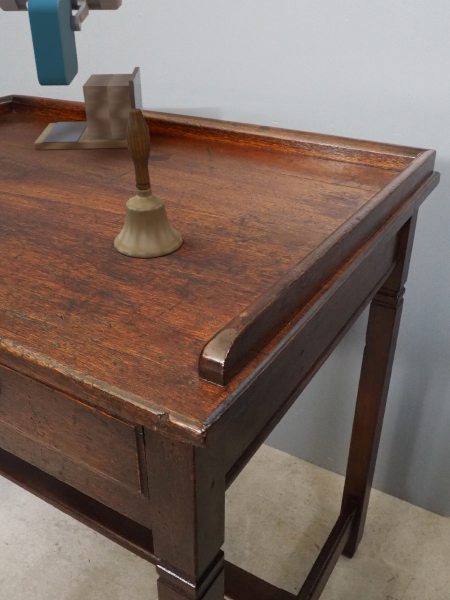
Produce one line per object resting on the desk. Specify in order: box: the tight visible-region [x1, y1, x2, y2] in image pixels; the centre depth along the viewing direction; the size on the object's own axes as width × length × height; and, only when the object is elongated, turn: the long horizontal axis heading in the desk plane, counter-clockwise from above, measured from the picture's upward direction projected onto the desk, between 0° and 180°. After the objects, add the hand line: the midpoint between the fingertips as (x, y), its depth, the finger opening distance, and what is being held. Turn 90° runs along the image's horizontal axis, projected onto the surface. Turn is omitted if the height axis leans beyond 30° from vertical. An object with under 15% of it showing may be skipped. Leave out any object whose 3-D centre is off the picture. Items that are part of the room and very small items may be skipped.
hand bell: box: [113, 108, 184, 259], centre depth 71 cm, size 8×8×16 cm
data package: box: [27, 0, 79, 87], centre depth 96 cm, size 12×4×12 cm, turn 4°
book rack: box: [33, 66, 144, 151], centre depth 110 cm, size 18×13×11 cm
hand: (57, 29), depth 98 cm, fingers closed on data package, 4 cm apart
